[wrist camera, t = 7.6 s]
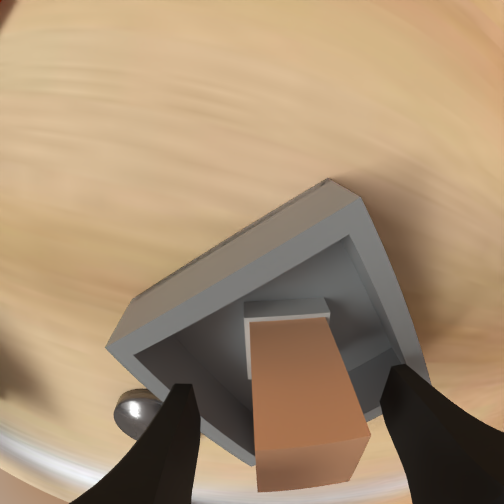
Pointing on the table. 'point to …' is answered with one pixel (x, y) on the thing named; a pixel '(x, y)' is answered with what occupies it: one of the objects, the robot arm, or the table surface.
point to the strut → (300, 397)
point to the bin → (269, 289)
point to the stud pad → (136, 411)
